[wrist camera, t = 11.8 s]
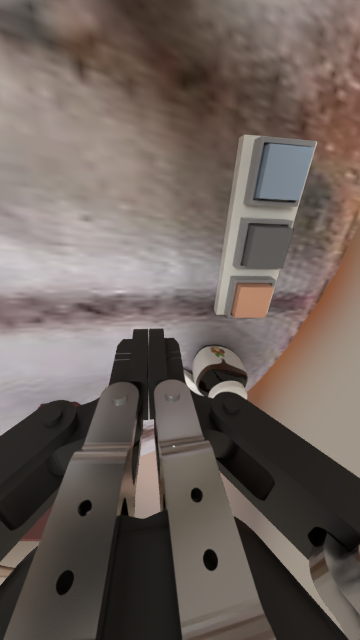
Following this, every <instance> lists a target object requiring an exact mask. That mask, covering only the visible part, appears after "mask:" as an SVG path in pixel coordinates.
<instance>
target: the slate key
mask: <svg viewBox="0 0 360 640" xmlns="http://www.w3.org/2000/svg"><path fill="white" fill-rule="evenodd" d="M313 151H314V147H304V146H293V145H282V144H271V143H270V144H268V145H265V146H263V151H262V156H261V161H260V166H259V171H258V176H257V181H256V187H255V192H254V197H253V198H264V199H282V200H299V199H300V196H301V192H302V189H303V185H304V182H305V178H306V175H307V172H308V168H309V165H310V161H311V158H312V154H313Z"/></svg>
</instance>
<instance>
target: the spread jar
mask: <svg viewBox="0 0 360 640" xmlns="http://www.w3.org/2000/svg"><path fill="white" fill-rule="evenodd" d="M183 370H184V369H183ZM192 372H193V375H192V374H191V373H189V372H188V371H186V370H184V376H185V381H186V384H187V386H188V387H189V388H190V389H191V390H192V391H194V392H195V393H197V394H198V395H201V396H202V395H203V396H205V397H210V398H214V397H215V395H217V394H218V393H220V392H226V391H227V392H233V393H236V394H239V395H240V396H242V397H243V398H245V399H246V400H247V392H246V390H245V387H246V384H247V379H248V376H247V372H246V370H245V368H244V366H243V364H242V362H241V360H240V359H239V357H238V356H237V355H236V354H235V353H234V352H232V351H231V350H230V349H228V348H226V347H224V346H221V345H208V346H206V347H204V348H202V349H201V350H200V351H199V352H198V353H197V355H196V357H195V359H194V361H193V366H192Z"/></svg>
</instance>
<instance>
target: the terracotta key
mask: <svg viewBox="0 0 360 640" xmlns="http://www.w3.org/2000/svg"><path fill="white" fill-rule="evenodd" d="M273 289H274V287H273V286H271V285H270V284H269V283H237V284H236V289H235V295H234V300H233V305H232V310H231V313H232V315H233V316H234V318H264V317H266V314H267V310H268V307H269V303H270V300H271V296H272V293H273Z"/></svg>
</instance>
